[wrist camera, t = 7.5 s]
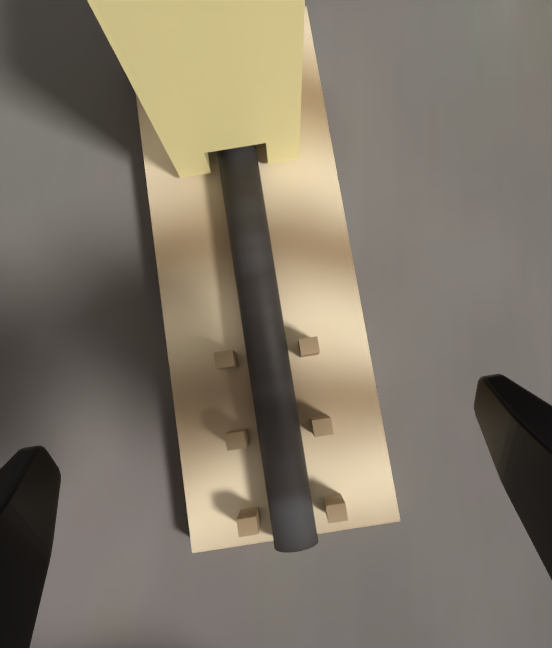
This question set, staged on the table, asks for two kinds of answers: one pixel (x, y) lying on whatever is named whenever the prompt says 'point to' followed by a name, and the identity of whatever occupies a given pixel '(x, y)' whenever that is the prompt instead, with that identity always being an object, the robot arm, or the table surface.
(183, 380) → the comb board
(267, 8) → the yellow square block
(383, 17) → the table surface
